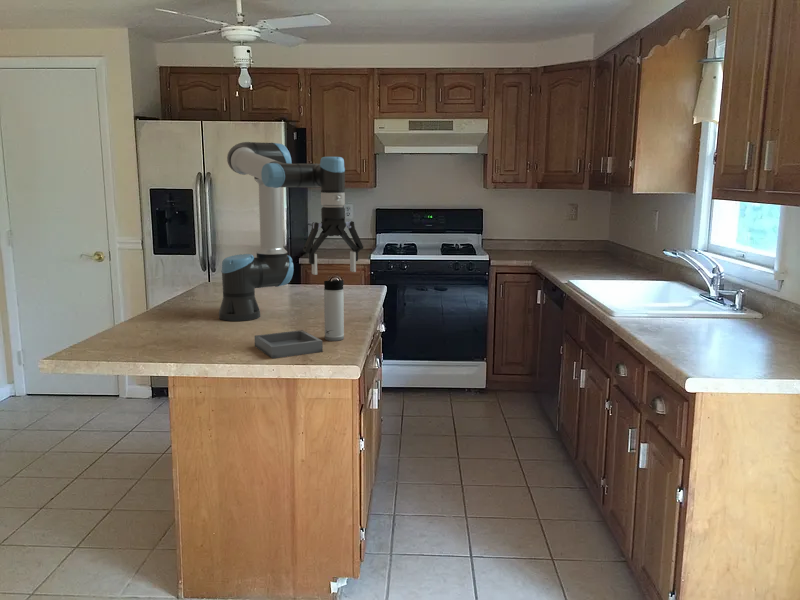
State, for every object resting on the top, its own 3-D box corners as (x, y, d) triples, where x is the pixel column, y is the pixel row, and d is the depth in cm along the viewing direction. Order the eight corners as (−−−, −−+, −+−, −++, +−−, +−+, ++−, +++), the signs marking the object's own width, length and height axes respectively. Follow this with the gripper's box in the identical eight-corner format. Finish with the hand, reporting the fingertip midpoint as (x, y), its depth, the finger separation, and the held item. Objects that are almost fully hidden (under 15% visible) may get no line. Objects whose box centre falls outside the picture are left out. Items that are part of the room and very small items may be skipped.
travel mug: (326, 341, 212) (326, 280, 208) (323, 337, 218) (322, 277, 214) (345, 340, 213) (345, 280, 210) (341, 336, 220) (341, 277, 216)
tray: (254, 346, 205) (254, 335, 204) (302, 340, 213) (302, 330, 212) (272, 358, 192) (272, 347, 191) (322, 351, 200) (322, 340, 199)
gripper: (300, 207, 198) (302, 276, 202) (373, 206, 211) (373, 271, 214) (291, 206, 204) (293, 274, 208) (362, 205, 217) (363, 269, 221)
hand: (334, 272), depth 211 cm, fingers open, 13 cm apart
